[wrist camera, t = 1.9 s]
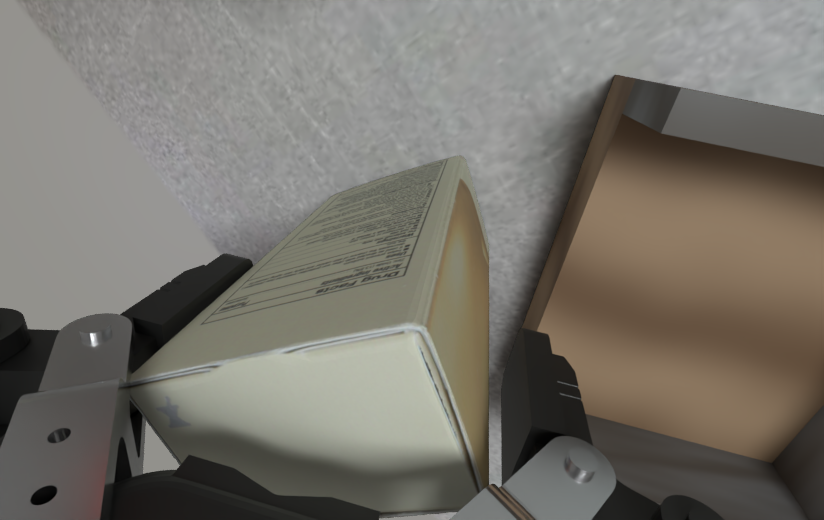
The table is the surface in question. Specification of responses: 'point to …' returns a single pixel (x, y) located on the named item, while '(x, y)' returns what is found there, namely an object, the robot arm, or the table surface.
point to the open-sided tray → (697, 298)
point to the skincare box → (346, 354)
